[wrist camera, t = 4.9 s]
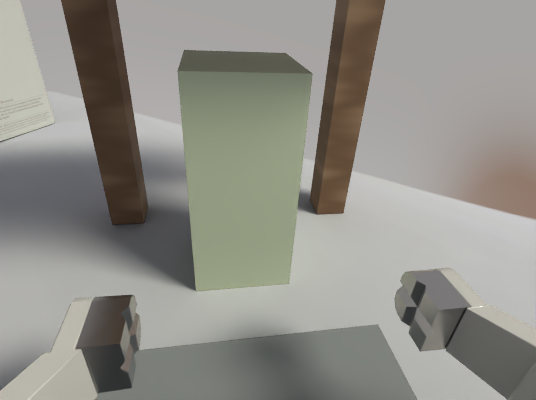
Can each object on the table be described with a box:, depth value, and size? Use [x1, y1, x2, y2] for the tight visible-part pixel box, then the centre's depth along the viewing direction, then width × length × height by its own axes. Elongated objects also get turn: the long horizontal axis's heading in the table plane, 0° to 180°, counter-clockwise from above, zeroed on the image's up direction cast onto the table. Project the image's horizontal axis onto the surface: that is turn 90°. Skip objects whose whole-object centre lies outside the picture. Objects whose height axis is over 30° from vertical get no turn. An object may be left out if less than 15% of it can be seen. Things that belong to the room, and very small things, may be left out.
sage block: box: [178, 50, 313, 291], centre depth 18 cm, size 5×5×11 cm
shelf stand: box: [61, 0, 385, 224], centre depth 16 cm, size 16×12×18 cm
